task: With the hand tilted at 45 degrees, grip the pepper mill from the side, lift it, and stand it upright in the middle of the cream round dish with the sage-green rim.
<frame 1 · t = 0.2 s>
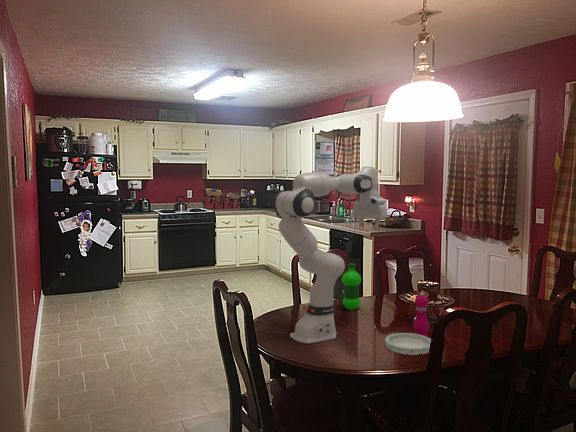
hand: (369, 227, 242), 48 cm above the table, tool pointing down, fingers open, 8 cm apart
pepper mill: (421, 335, 225), on the table
round dish: (409, 346, 211), on the table
plastic bottle: (351, 309, 269), on the table
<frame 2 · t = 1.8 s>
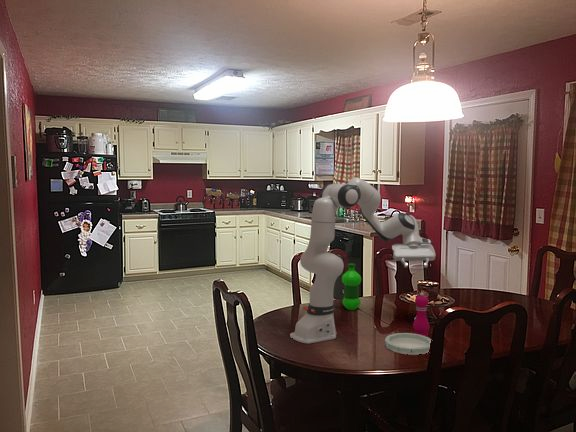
hand: (416, 266, 236), 29 cm above the table, tool tilted 45°, fingers open, 8 cm apart
nothing on the table moved.
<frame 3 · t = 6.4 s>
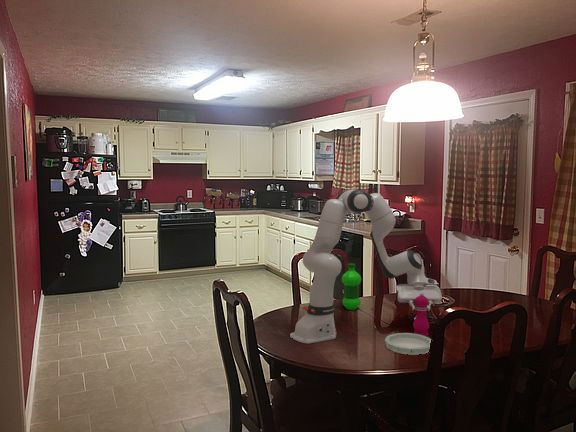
hand: (421, 309, 224), 12 cm above the table, tool tilted 45°, fingers closed on pepper mill, 5 cm apart
pepper mill: (421, 335, 225), on the table, touching gripper
everything else where it was.
when the fingers open (14 cm above the table, at t = 12.1 s): pepper mill moves 3 cm, resting on round dish.
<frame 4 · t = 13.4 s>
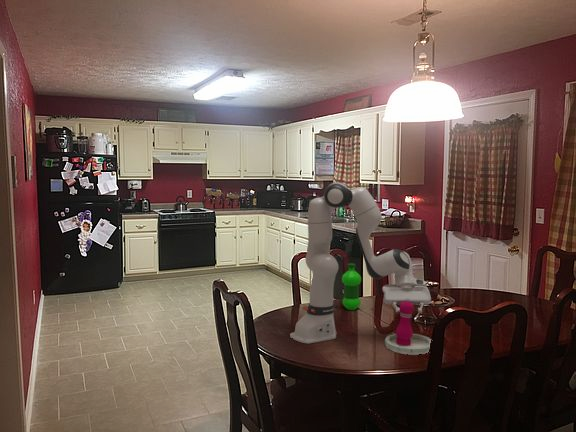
hand: (409, 312, 210), 15 cm above the table, tool tilted 45°, fingers open, 8 cm apart
pepper mill: (403, 343, 212), point 1 cm above the table, touching round dish
everything else where it was.
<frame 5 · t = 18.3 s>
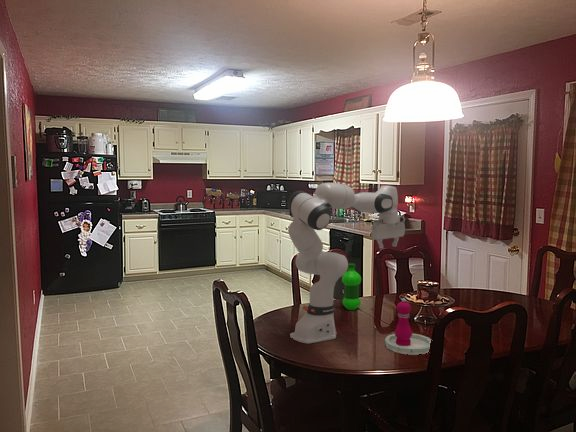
hand: (388, 247, 234), 39 cm above the table, tool pointing down, fingers open, 8 cm apart
at the end: pepper mill inside the target area on the round dish (2.4 cm from its centre), point 0.8 cm above the round dish's base; pepper mill tilted 0°; the gripper is holding nothing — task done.
